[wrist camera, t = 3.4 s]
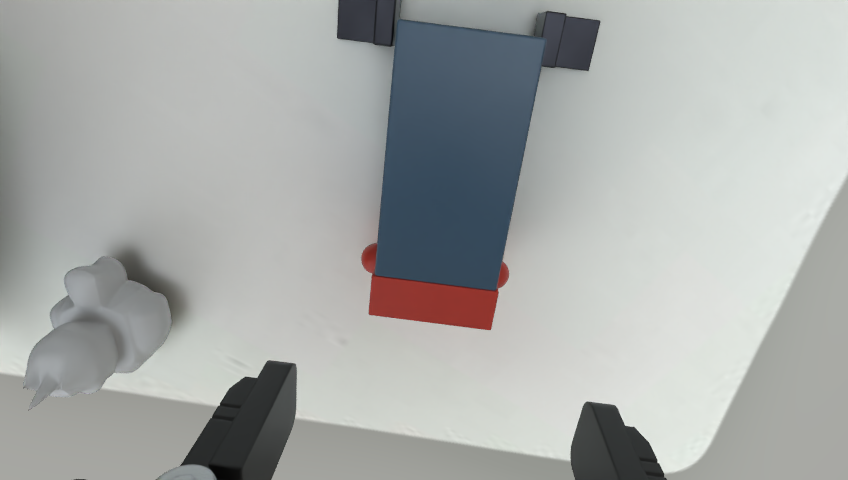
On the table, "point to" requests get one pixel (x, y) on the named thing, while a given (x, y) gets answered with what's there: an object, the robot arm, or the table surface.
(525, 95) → the container
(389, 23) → the pivot clip
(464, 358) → the table surface
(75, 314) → the rubber duck
